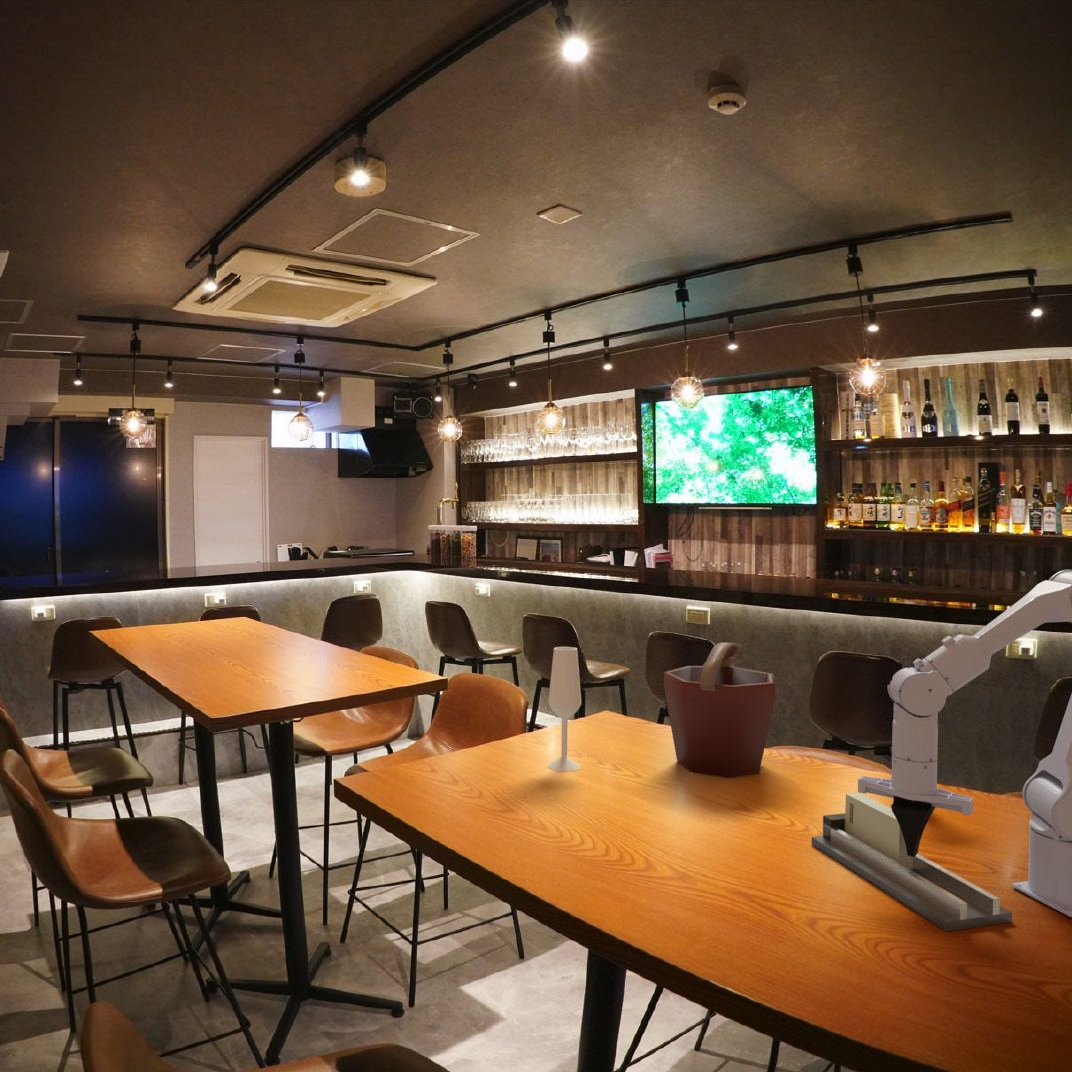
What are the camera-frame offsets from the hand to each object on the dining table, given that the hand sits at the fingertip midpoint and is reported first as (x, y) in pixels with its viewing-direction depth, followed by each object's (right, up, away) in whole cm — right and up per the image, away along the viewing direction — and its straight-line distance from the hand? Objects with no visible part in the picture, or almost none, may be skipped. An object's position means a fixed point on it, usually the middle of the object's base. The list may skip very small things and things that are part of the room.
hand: (912, 854), depth 115 cm
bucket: (-14, -3, +56) cm, 57 cm away
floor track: (-1, -4, +2) cm, 5 cm away
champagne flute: (-46, -3, +54) cm, 71 cm away
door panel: (-1, -3, +8) cm, 9 cm away
